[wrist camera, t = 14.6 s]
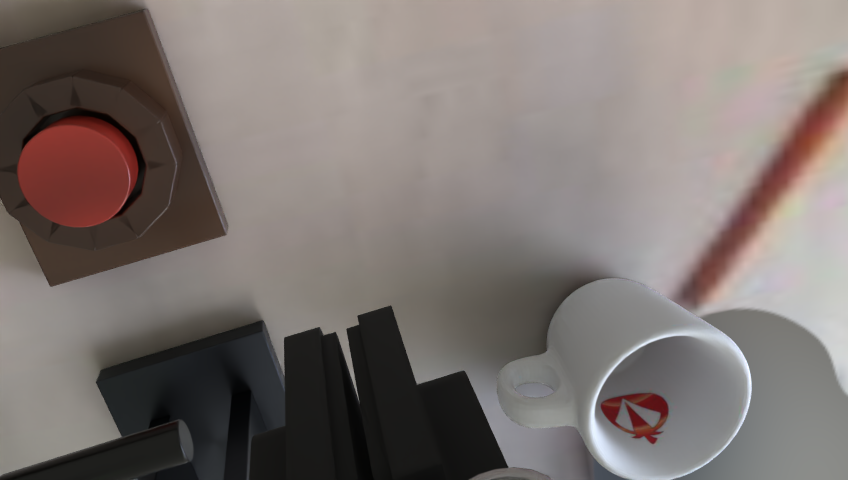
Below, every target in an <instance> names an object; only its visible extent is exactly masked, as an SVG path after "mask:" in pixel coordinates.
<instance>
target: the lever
mask: <svg viewBox="0 0 848 480" xmlns="http://www.w3.org/2000/svg"><path fill="white" fill-rule="evenodd" d="M192 459H193V443H192V438H191V435H190V432H189V429H188V427H187V425H186V424H185V422H184V421H183V420H181V419H178V420H175V421H172V422H169V423H166V424H162V425H159V426H156V427H153V428H150V429H147V430H143V431H140V432H137V433H134V434H131V435H127V436H124V437H121V438H118V439H115V440H111V441H108V442H105V443H102V444H99V445H96V446H92V447H89V448H86V449H83V450H80V451H76V452H73V453H70V454H67V455H64V456H60V457H57V458H54V459H51V460H48V461H45V462H41V463H38V464H35V465H32V466H29V467H25V468H22V469H19V470H16V471H13V472H9V473H6V474H3V475H2V476H0V480H138V479H137V478H140V477H143V476H147V475H150V474H153V473H156V472H159V471H162V470H165V469H169V468H172V467H175V466H178V465H181V464H184V463H187V462H190V461H191V460H192Z"/></svg>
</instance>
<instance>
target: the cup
mask: <svg viewBox="0 0 848 480" xmlns="http://www.w3.org/2000/svg"><path fill="white" fill-rule="evenodd" d="M526 383H541V384H544V385H547V386H549V387H550V388H552V389H553V390H554V391H555V392H554V393H553V394H551V395H549V396H546V397H540V398H530V397H525V396H522V395H521V394H519V393H518V392H516V390H515V389H516V388H517V387H518V386H520V385H522V384H526ZM497 394H498V399H499V403H500V405H501V407H502V409H503V411H504V412H505V414H506V415H507V416H508V417H509V418H510V419H511V420H512V421H514V422H515V423H517V424H519V425H521V426H525V427H529V428H553V427H561V426H573V427H575V428H576V429H577V430H578V431H579V433H580V434H581V436H582V438H583V440H584V443H585V445H586V446H587V448H588V450H589V451H590V453H591V454H592V456H593V457H594V458H595V459H596V460H597V461H598V462H599V463H600V464H601V465H602V466H603V467H604V468H606V469H607V470H608V471H610V472H612V473H613V474H615V475H618V476H620V477H622V478H625V479H629V480H671V479H675V478H678V477H681V476H684V475H686V474H689V473H691V472H693V471H695V470H697V469H699V468H701V467H702V466H704V465H705V464H707V463H708V462H710V461H711V460H712V459H714V458H715V457H716V456H717V455H718V454H719V453H720V452H722V451H723V450H724V448H725V447H726V446H727V445H728V444H729V443H730V442H731V440H732V439H733V438H734V436H735V435H736V434H737V432H738V430H739V428H740V427H741V425H742V423H743V421H744V419H745V416H746V414H747V411H748V407H749V404H750V398H751V375H750V370H749V366H748V364H747V361H746V359H745V357H744V355H743V353H742V352H741V350H740V349H739V348H738V346H737V345H736V344H735V343H734V341H733V340H731V339H730V338H729V337H728V336H727V335H726V334H724V333H723V332H721V331H720V330H718V329H717V328H715V327H713V326H712V325H710V324H708V323H707V322H705V321H704V320H702V319H700V318H699V317H697V316H695V315H694V314H692V313H691V312H689V311H687V310H686V309H684V308H682V307H681V306H679V305H678V304H676V303H674V302H673V301H671V300H669V299H668V298H666V297H665V296H663V295H661V294H660V293H658V292H656V291H655V290H653V289H651V288H649V287H647V286H645V285H643V284H641V283H638V282H635V281H632V280H628V279H621V278H608V279H601V280H597V281H594V282H591V283H588V284H586V285H584V286H582V287H580V288H579V289H577V290H576V291H574V292H573V293H572V294H570V295H569V296H568V297H567V298H566V299H565V300H564V301H563V302H562V303H561V305H560V306H559V308H558V309H557V310H556V312H555V314H554V316H553V318H552V320H551V322H550V326H549V329H548V334H547V351H546V352H545V353H543V354H540V355H535V356H530V357H525V358H521V359H517V360H514V361H512V362H510V363H508V364H506V365H505V366H504V367H503V368H502V369H501V370H500V372H499V375H498V378H497Z"/></svg>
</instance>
